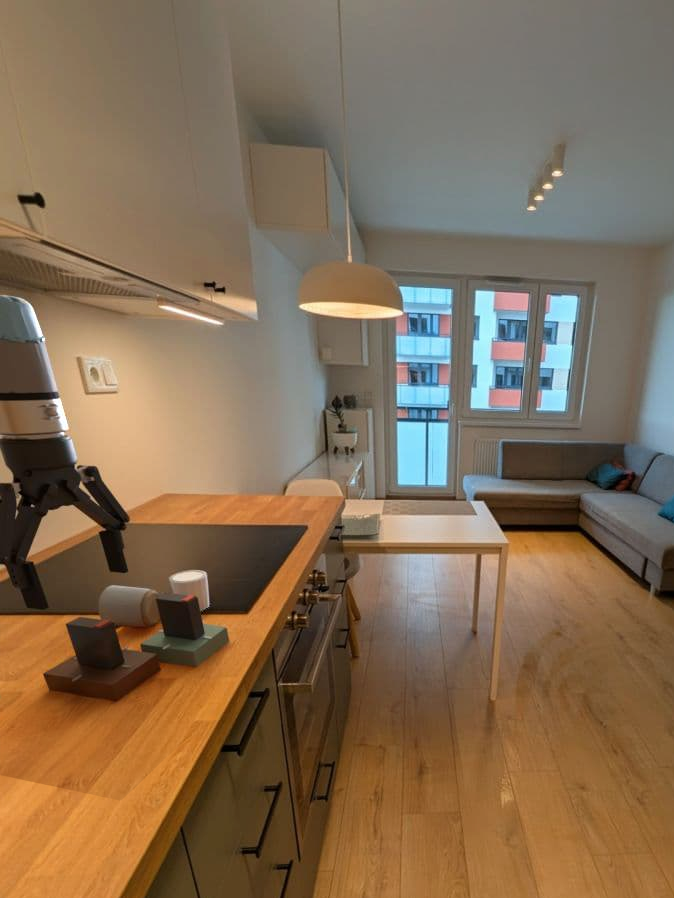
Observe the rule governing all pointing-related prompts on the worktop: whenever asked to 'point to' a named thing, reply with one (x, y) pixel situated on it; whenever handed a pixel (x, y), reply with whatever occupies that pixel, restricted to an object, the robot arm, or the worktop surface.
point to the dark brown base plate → (103, 676)
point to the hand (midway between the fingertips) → (82, 588)
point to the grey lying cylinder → (129, 606)
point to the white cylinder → (192, 585)
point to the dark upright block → (180, 616)
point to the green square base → (187, 646)
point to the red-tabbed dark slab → (95, 642)
